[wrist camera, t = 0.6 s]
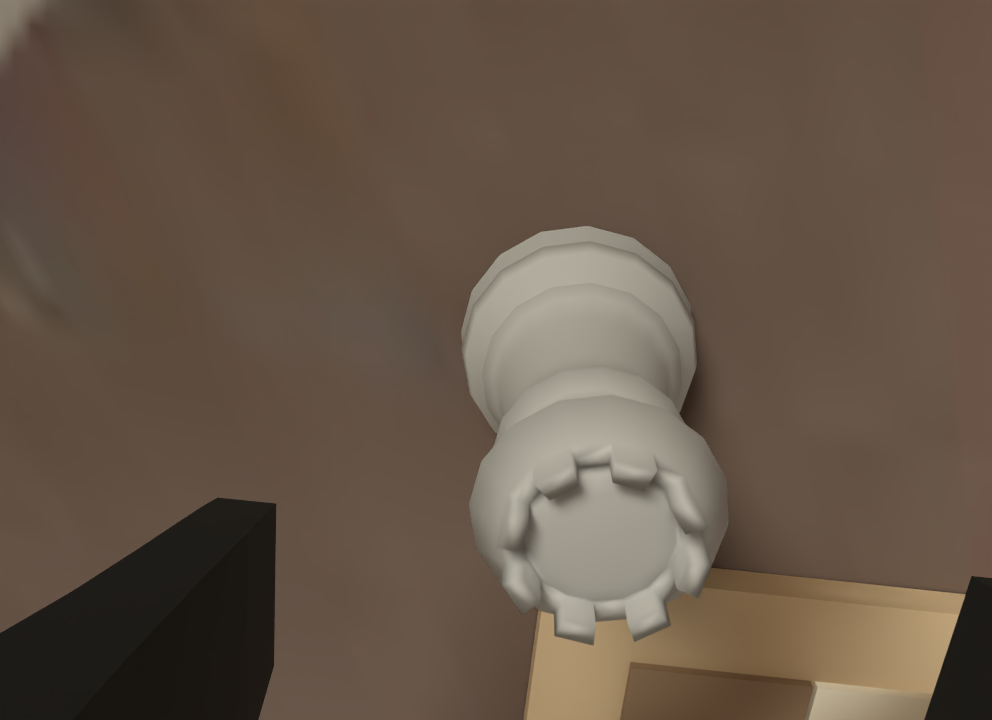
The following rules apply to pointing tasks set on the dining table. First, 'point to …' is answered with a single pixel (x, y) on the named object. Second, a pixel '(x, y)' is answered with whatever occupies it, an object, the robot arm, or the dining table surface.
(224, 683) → the robot arm
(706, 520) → the rook chess piece
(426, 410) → the dining table surface
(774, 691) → the chessboard
